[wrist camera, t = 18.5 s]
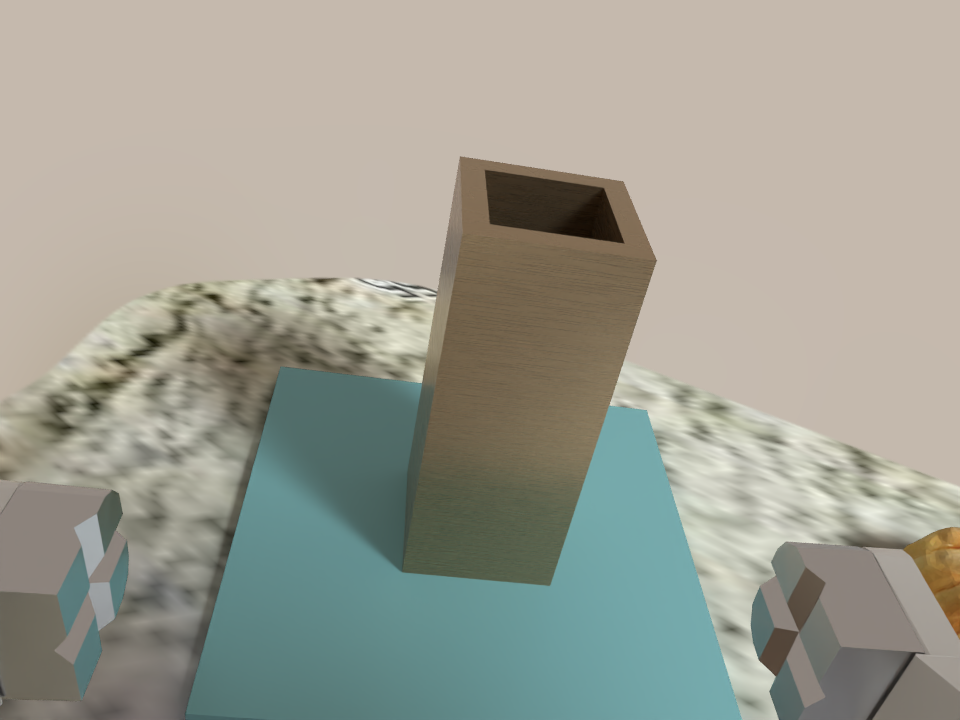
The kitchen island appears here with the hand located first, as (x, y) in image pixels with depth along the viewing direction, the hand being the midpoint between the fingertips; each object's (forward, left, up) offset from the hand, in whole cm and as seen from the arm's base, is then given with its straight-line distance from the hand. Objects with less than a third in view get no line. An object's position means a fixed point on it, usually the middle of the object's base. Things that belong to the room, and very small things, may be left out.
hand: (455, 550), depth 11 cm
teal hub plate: (-3, -17, -17) cm, 24 cm away
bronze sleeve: (-3, -17, -17) cm, 24 cm away
